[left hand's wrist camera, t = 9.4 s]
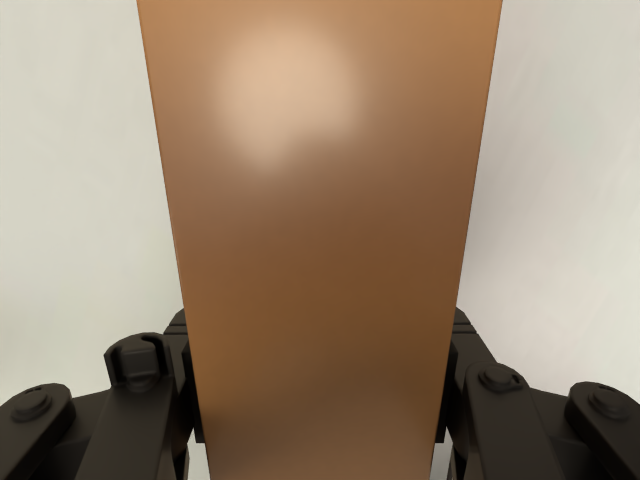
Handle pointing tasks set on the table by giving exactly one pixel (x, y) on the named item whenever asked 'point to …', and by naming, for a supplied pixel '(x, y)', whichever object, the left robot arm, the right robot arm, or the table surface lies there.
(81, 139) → the table surface
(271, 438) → the beam
